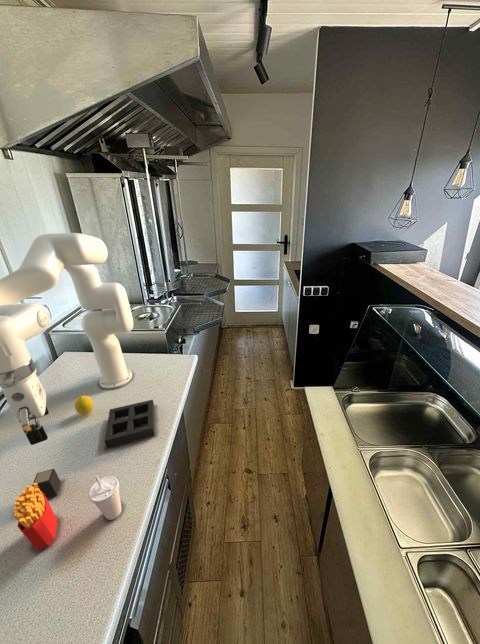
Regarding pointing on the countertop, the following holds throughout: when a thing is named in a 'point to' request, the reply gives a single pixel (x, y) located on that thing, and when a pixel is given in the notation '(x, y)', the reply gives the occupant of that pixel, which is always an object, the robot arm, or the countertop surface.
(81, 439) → the countertop surface
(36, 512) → the french fries
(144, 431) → the socket pad
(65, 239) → the robot arm
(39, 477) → the connector plug
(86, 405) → the lemon
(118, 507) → the smoothie
